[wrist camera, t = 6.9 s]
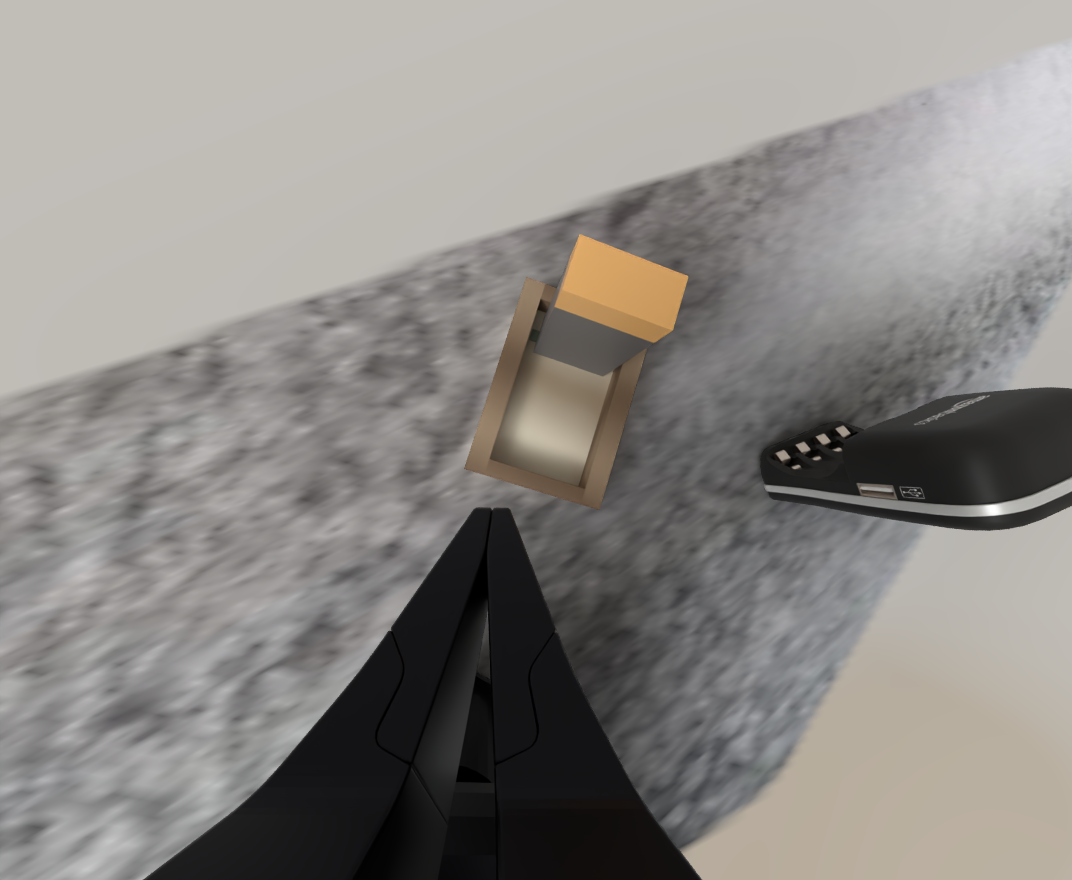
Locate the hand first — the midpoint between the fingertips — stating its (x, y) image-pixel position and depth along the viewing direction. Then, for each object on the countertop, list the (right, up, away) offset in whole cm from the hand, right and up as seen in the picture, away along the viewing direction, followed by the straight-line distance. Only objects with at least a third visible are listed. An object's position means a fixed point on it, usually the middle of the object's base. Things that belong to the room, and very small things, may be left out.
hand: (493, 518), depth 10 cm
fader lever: (+3, +7, +12) cm, 14 cm away
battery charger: (+18, +1, +15) cm, 23 cm away
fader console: (+2, +4, +13) cm, 14 cm away
